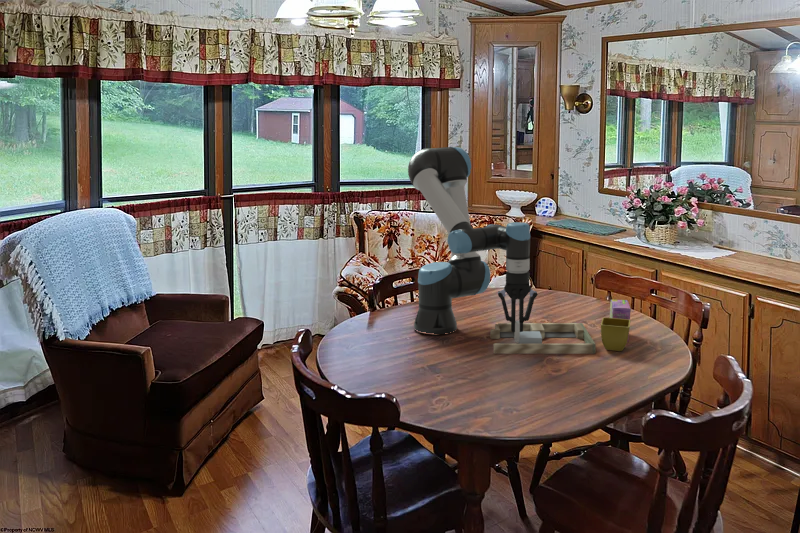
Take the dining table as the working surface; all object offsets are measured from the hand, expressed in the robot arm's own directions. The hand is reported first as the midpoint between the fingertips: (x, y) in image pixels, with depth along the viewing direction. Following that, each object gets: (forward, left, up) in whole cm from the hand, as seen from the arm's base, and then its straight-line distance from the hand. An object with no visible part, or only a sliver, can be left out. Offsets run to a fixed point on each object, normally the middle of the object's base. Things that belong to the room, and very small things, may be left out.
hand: (516, 341), depth 243 cm
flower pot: (+28, +15, -2) cm, 31 cm away
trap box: (+5, +8, -2) cm, 9 cm away
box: (+25, +27, -2) cm, 36 cm away
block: (+4, +2, -2) cm, 5 cm away
